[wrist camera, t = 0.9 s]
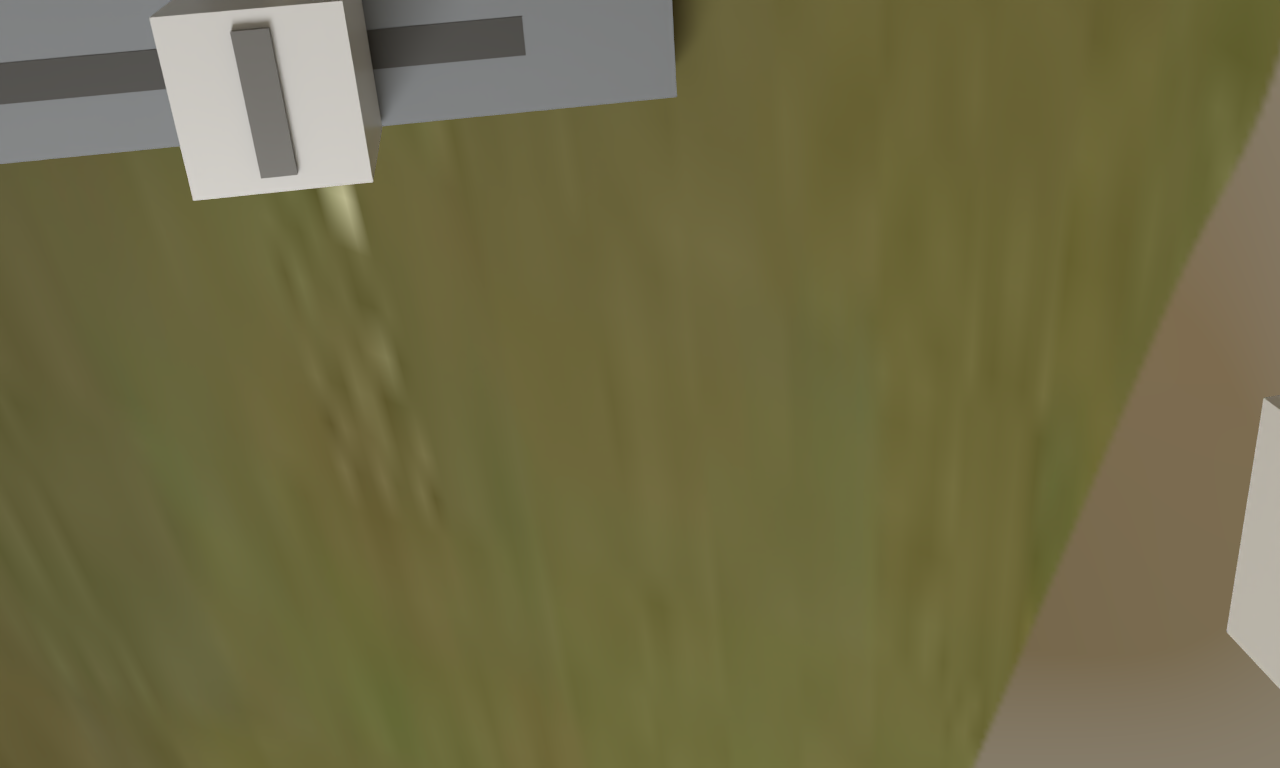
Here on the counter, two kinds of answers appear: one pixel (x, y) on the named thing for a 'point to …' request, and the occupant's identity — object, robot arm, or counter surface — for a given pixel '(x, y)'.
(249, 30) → the fader
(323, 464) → the counter surface
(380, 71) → the console
